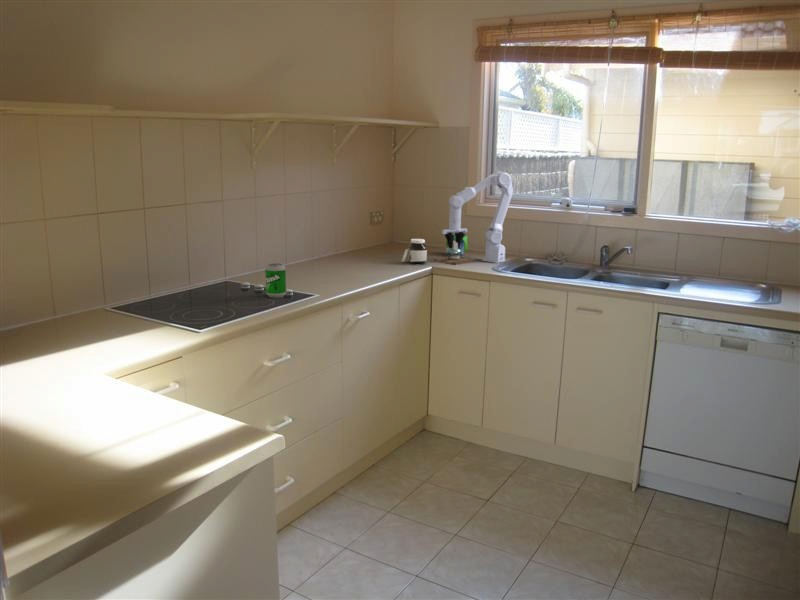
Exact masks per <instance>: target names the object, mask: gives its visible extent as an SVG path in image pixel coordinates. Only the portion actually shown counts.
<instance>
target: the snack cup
mask: <svg viewBox="0 0 800 600" xmlns="http://www.w3.org/2000/svg"><path fill="white" fill-rule="evenodd" d="M468 239H469V238H468V236H467V235H465V236H464V237H463V239H462V241H461V244H460V248H461V249H462V254H461V255H462V256H464V254H465V252H467V251H468V250H469V244H468ZM453 241H456V238H455V236H454V239H453ZM445 246H446V248H449V246H448V242H447V240H446V242H445ZM461 255H460V257H461Z"/></svg>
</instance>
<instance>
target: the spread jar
mask: <svg viewBox="0 0 800 600" xmlns="http://www.w3.org/2000/svg"><path fill="white" fill-rule="evenodd" d="M407 255H408V256H407ZM407 257H408V258H407ZM427 257H428V248H427V245H426V240H425V239H424V238H411V239H410V244H409V245H408V248H406V249H405V250H404V253H403V256H402V258H401V263H403V262H404V263H405V261H406V258H407V259H408V262H409V263H410V264H411V265H416V264H420V265H424V264H426V263H427V261H428V260H427V259H428V258H427Z"/></svg>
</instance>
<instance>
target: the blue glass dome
mask: <svg viewBox="0 0 800 600" xmlns="http://www.w3.org/2000/svg"><path fill="white" fill-rule="evenodd" d="M445 254H446V255H447V256H448V255H461V254H462V249H461V248H458V243H457V242H456V241H453V247H452V248H449V247H446V248H445Z"/></svg>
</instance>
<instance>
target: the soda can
mask: <svg viewBox="0 0 800 600" xmlns="http://www.w3.org/2000/svg"><path fill="white" fill-rule="evenodd" d="M266 265H267V266H265V267H264V268H265V270H264V272H265V275H264V276H265V294H266V295H267V297H269V298H283V297H284V296H285V295H286V294H287V280H286V279H287V277H286V273H287V272H286V266H285V265H284V264H283V263H278V262H276V263H268V264H266Z"/></svg>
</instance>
